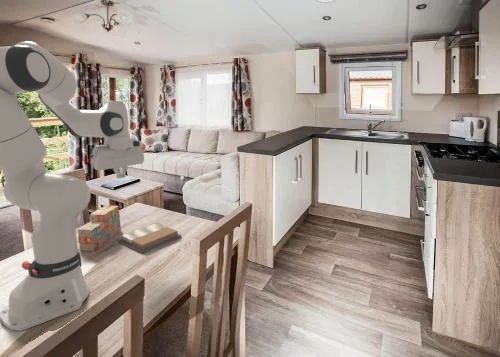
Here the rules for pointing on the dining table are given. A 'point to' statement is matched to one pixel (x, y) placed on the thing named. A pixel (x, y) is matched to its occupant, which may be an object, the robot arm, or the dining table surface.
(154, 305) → the dining table surface
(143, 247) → the board
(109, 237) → the stack of blocks
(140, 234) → the ash plank
